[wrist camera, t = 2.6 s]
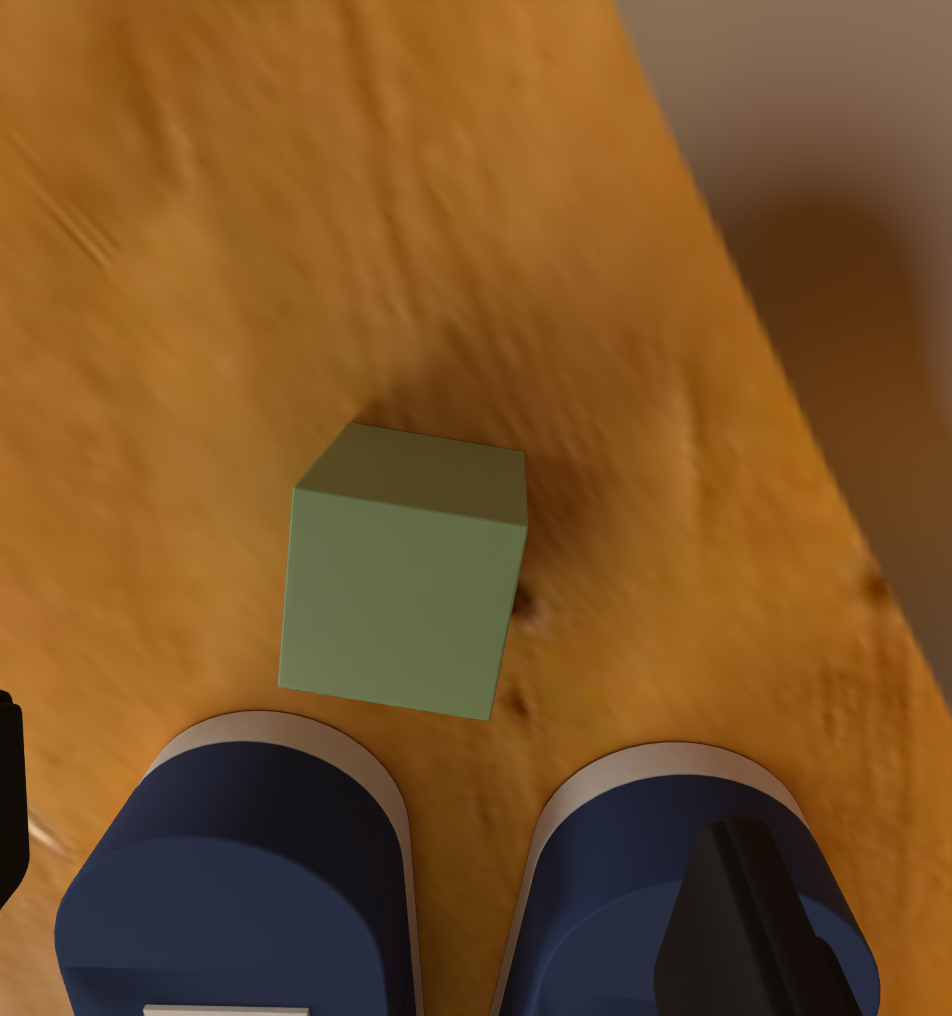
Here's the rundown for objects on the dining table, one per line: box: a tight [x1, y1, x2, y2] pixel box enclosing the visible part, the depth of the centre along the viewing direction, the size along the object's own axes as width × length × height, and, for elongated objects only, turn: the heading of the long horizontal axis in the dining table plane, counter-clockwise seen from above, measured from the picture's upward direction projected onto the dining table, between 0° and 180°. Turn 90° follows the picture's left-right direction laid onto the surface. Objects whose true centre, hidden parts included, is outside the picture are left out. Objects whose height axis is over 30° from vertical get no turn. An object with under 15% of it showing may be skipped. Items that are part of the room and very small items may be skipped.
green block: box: [278, 423, 529, 721], centre depth 17 cm, size 5×5×5 cm
